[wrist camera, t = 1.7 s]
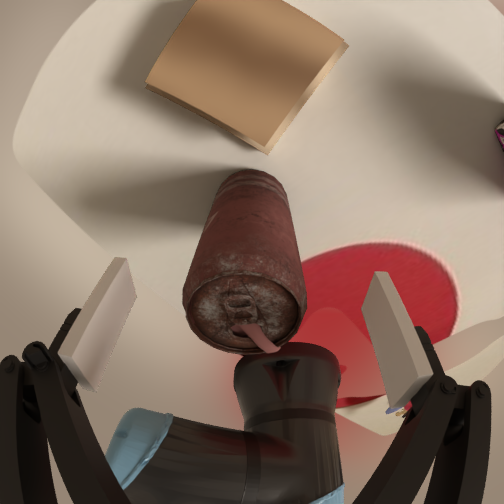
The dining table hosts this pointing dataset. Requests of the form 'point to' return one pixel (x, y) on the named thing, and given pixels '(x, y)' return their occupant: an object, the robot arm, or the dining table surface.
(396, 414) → the toy pieces
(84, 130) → the dining table surface
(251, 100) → the stand
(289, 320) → the can
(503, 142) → the candy bar box
